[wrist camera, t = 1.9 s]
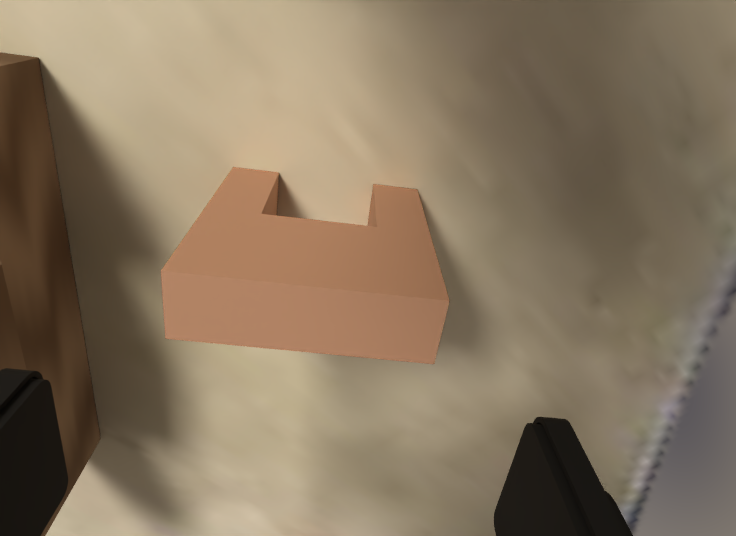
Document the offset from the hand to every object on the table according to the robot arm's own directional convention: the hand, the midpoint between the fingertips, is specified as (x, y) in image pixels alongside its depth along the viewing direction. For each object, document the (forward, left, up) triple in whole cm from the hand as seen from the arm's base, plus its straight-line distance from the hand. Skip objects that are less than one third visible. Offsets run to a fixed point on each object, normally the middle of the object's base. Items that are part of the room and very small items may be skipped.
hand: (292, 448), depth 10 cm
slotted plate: (-1, 0, -11) cm, 11 cm away
